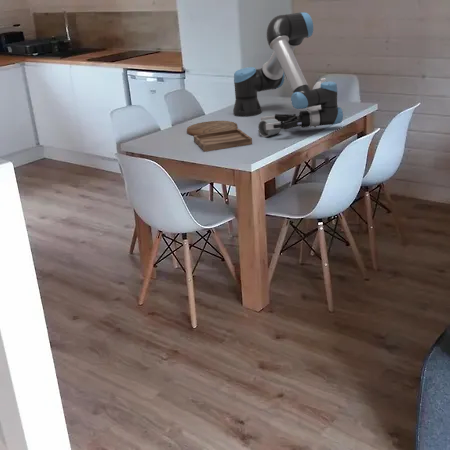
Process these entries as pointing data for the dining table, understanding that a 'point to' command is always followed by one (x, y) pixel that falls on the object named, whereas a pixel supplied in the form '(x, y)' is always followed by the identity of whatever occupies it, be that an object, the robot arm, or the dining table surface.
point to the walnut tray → (222, 140)
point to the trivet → (210, 127)
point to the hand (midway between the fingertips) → (263, 123)
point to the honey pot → (316, 88)
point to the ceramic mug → (263, 130)
